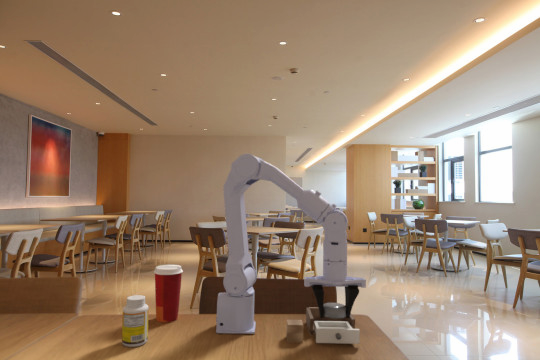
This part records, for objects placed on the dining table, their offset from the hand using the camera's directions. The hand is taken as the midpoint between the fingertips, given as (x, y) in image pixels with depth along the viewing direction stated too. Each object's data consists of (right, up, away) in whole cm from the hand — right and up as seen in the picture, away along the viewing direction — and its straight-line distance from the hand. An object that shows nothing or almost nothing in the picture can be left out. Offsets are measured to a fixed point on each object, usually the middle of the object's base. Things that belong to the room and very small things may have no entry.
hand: (334, 316), depth 90 cm
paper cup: (-43, -5, +11) cm, 45 cm away
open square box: (0, -5, +6) cm, 8 cm away
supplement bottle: (-46, -4, -5) cm, 47 cm away
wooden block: (-10, -5, -1) cm, 11 cm away
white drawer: (0, -4, -1) cm, 4 cm away
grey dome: (0, 0, 0) cm, 1 cm away
